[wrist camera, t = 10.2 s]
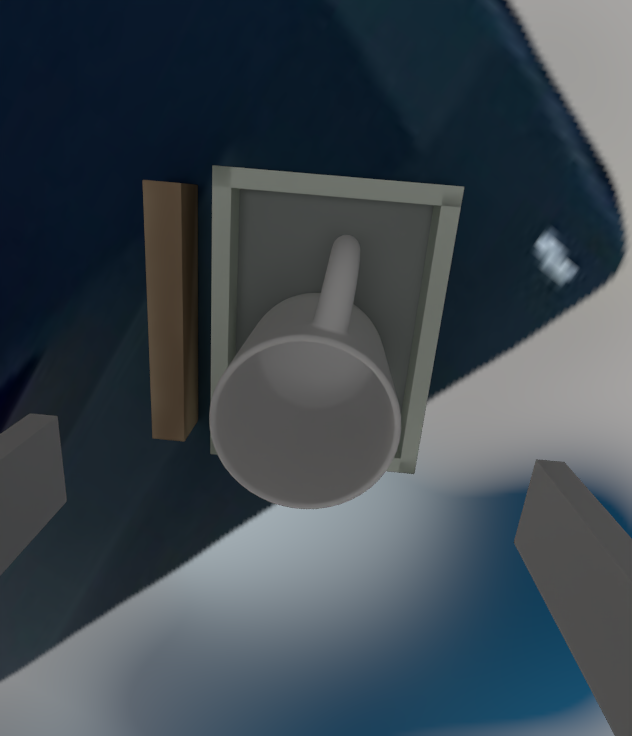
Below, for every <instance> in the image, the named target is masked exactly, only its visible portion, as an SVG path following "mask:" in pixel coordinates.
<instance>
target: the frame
mask: <svg viewBox="0 0 632 736" xmlns="http://www.w3.org/2000/svg"><path fill="white" fill-rule="evenodd" d="M463 191H464V187H461V186H449V185H437V184H426V183H414V182H402V181H390V180H379V179H367V178H355V177H343V176H332V175H320V174H308V173H296V172H285V171H273V170H261V169H249V168H238V167H226V166H214V165H212V288H211V400H212V396H213V393H214V390H215V388H216V386H217V383H218V381H219V380H220V378H221V376H222V375H223V373H224V372H225V370H226V369H227V367H228V366H229V364H230V363H231V362H232V360H233V359H234V357H235V356H236V354H237V353H238V351H239V350H240V348H241V347H242V346H243V344H244V343H245V341H246V340H247V338H248V337H249V335H250V334H251V333H252V331H253V330H254V328H255V327H256V325H257V324H258V322H259V321H260V320H261V319H262V318H263V316H264V315H265V314H266V313H267V312H268V311H269V310H270V309H272V308H273V307H274V306H275V305H277V304H278V303H280V302H282V301H284V300H286V299H288V298H290V297H293V296H296V295H300V294H305V293H321V290H322V286H323V282H324V278H325V274H326V270H327V266H328V262H329V258H330V253H331V249H332V246H333V244H334V241H335V240H336V239H337V238H338V237H340V236H342V235H350V236H353V237H354V238H355V239H356V240H357V241H358V243H359V245H360V263H359V272H358V279H357V285H356V291H355V297H354V303H353V304H354V305H355V306H357V307H358V308H359V309H360V310H361V311H363V312H364V313H365V314H366V315H367V316H368V318H369V319H370V320H371V322H372V323H373V325H374V326H375V328H376V330H377V332H378V334H379V336H380V339H381V342H382V345H383V348H384V352H385V355H386V359H387V363H388V366H389V370H390V374H391V377H392V381H393V385H394V388H395V392H396V396H397V399H398V403H399V407H400V413H401V435H400V441H399V445H398V448H397V452H396V454H395V456H394V458H393V461H392V462H391V464H390V466H389V467H388V469H387V470H386V471H388V472H399V473H409V474H414V473H415V467H416V461H417V456H418V450H419V444H420V438H421V432H422V427H423V421H424V415H425V410H426V404H427V398H428V392H429V387H430V381H431V375H432V369H433V364H434V358H435V352H436V346H437V341H438V335H439V329H440V323H441V318H442V312H443V306H444V300H445V295H446V289H447V283H448V277H449V272H450V266H451V260H452V254H453V249H454V243H455V237H456V231H457V226H458V220H459V214H460V208H461V203H462V197H463ZM210 454H217V452H216V450H215V447H214V444H213V441H212V438H211V432H210ZM217 455H218V454H217Z"/></svg>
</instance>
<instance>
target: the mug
mask: <svg viewBox="0 0 632 736" xmlns="http://www.w3.org/2000/svg"><path fill="white" fill-rule="evenodd" d="M359 263H360V245H359V243H358V241H357V240H356V239H355V238H354V237H353V236H350V235H342V236H340V237H338V238H337V239H336V240H335V241H334V244H333V246H332V249H331V253H330V258H329V262H328V266H327V270H326V274H325V278H324V282H323V286H322V290H321V293H305V294H300V295H296V296H293V297H290V298H288V299H286V300H284V301H282V302H280V303H278V304H277V305H275V306H274V307H273V308H272V309H270V310H269V311H268V312H267V313H266V314H265V315H264V316H263V318H262V319H261V320H260V321H259V322H258V324H257V325H256V327H255V328H254V330H253V331H252V333H251V334H250V335H249V337H248V338H247V340H246V341H245V343H244V344H243V346H242V347H241V348H240V350H239V351H238V353H237V354H236V356H235V357H234V359H233V360H232V362H231V363H230V364H229V366H228V367H227V369H226V370H225V372H224V373H223V375H222V376H221V378H220V380H219V381H218V383H217V386H216V388H215V390H214V393H213V396H212V400H211V404H210V412H209V425H210V432H211V438H212V441H213V444H214V447H215V450H216V452H217V454H218V456H219V458H220V460H221V462H222V463H223V465H224V466H225V468H226V469H227V470H228V472H229V473H230V474H231V475H232V477H233V478H234V479H235V480H237V481H238V482H239V483H240V484H241V485H242V486H243V487H245V488H246V489H247V490H249V491H250V492H252V493H253V494H255V495H257V496H259V497H260V498H262V499H265V500H267V501H269V502H272V503H275V504H278V505H282V506H286V507H291V508H299V509H319V508H326V507H331V506H335V505H339V504H342V503H344V502H346V501H349V500H352V499H354V498H355V497H357V496H359V495H361V494H362V493H364V492H365V491H366V490H368V489H369V488H371V487H372V486H373V485H374V484H375V483H376V482H377V481H378V480H379V479H380V478H381V477H382V475H383V474H384V473H385V472H386V470H387V469H388V467H389V466H390V464H391V462H392V461H393V458H394V456H395V454H396V452H397V448H398V445H399V441H400V435H401V413H400V407H399V403H398V399H397V396H396V392H395V388H394V385H393V381H392V377H391V374H390V370H389V366H388V363H387V359H386V355H385V352H384V348H383V345H382V342H381V339H380V336H379V334H378V332H377V330H376V328H375V326H374V325H373V323H372V322H371V320H370V319H369V318H368V316H367V315H366V314H365V313H364V312H363V311H361V310H360V309H359V308H358V307H357V306H355V305H354V304H353V303H354V297H355V291H356V285H357V279H358V272H359Z"/></svg>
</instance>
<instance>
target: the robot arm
mask: <svg viewBox="0 0 632 736" xmlns="http://www.w3.org/2000/svg"><path fill="white" fill-rule="evenodd" d="M66 501H67V498H66V489H65V480H64V471H63V462H62V453H61V444H60V435H59V426H58V416H52V415H41V414H28V415H27V416H25V417H24V418H23V419H21V420H20V421H18V422H17V423H15V424H14V425H13V426H11V427H10V428H8V429H7V430H5V431H4V432H2V433H1V434H0V575H1V574H2V573H3V572H4V571H5V570H6V569H7V567H8V566H9V565H10V564H11V563H12V562H13V561H14V560H15V558H16V557H17V556H18V555H19V554H20V553H21V552H22V551H23V550H24V548H25V547H26V546H27V545H28V544H29V543H30V542H31V541H32V539H33V538H34V537H35V536H36V535H37V534H38V533H39V532H40V531H41V529H42V528H43V527H44V526H45V525H46V524H47V523H48V522H49V520H50V519H51V518H52V517H53V516H54V515H55V514H56V513H57V512H58V510H59V509H60V508H61V507H62V506H63V505H64V504H65V503H66ZM514 543H515V545H516V548H517V549H518V551H519V553H520V555H521V557H522V559H523V561H524V563H525V565H526V567H527V569H528V570H529V572H530V574H531V576H532V578H533V580H534V582H535V584H536V586H537V587H538V590H539V591H540V593H541V595H542V597H543V599H544V601H545V603H546V605H547V607H548V609H549V611H550V613H551V614H552V616H553V618H554V620H555V622H556V624H557V626H558V628H559V630H560V632H561V633H562V635H563V637H564V639H565V641H566V643H567V645H568V647H569V648H570V651H571V653H572V654H573V656H574V658H575V660H576V662H577V664H578V666H579V668H580V670H581V671H582V674H583V676H584V677H585V679H586V681H587V683H588V685H589V687H590V689H591V691H592V693H593V695H594V697H595V698H596V700H597V702H598V704H599V706H600V708H601V710H602V712H603V714H604V716H605V718H606V720H607V721H608V723H609V725H610V727H611V729H612V731H613V733H614V735H615V736H632V539H631V538H630V536H629V535H628V534H627V533H626V532H625V531H624V530H623V528H622V527H621V526H620V525H619V524H618V523H617V522H616V520H615V519H614V518H613V517H612V516H611V515H610V514H609V512H608V511H607V510H606V509H605V508H604V507H603V506H602V504H601V503H600V502H599V501H598V500H597V499H596V498H595V496H594V495H593V494H592V493H591V492H590V491H589V490H588V489H587V487H586V486H585V485H584V484H583V483H582V482H581V481H580V479H579V478H578V477H577V476H576V475H575V474H574V473H573V472H572V470H571V469H570V468H569V467H568V466H567V465H566V463H565V462H557V461H547V460H536V462H535V466H534V469H533V473H532V477H531V480H530V484H529V488H528V491H527V495H526V499H525V503H524V507H523V511H522V514H521V518H520V521H519V525H518V529H517V533H516V536H515V540H514Z"/></svg>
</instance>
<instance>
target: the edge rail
mask: <svg viewBox="0 0 632 736" xmlns="http://www.w3.org/2000/svg"><path fill="white" fill-rule="evenodd" d="M143 204H144V229H145V255H146V281H147V307H148V333H149V359H150V385H151V411H152V437H153V438H155V439H165V440H175V441H185V440H186V438H187V437H188V435H189V434H190V432H191V431H192V429H193V427H194V426H195V424H196V423H197V421H198V185H193V184H184V183H173V182H161V181H149V180H143Z"/></svg>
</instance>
